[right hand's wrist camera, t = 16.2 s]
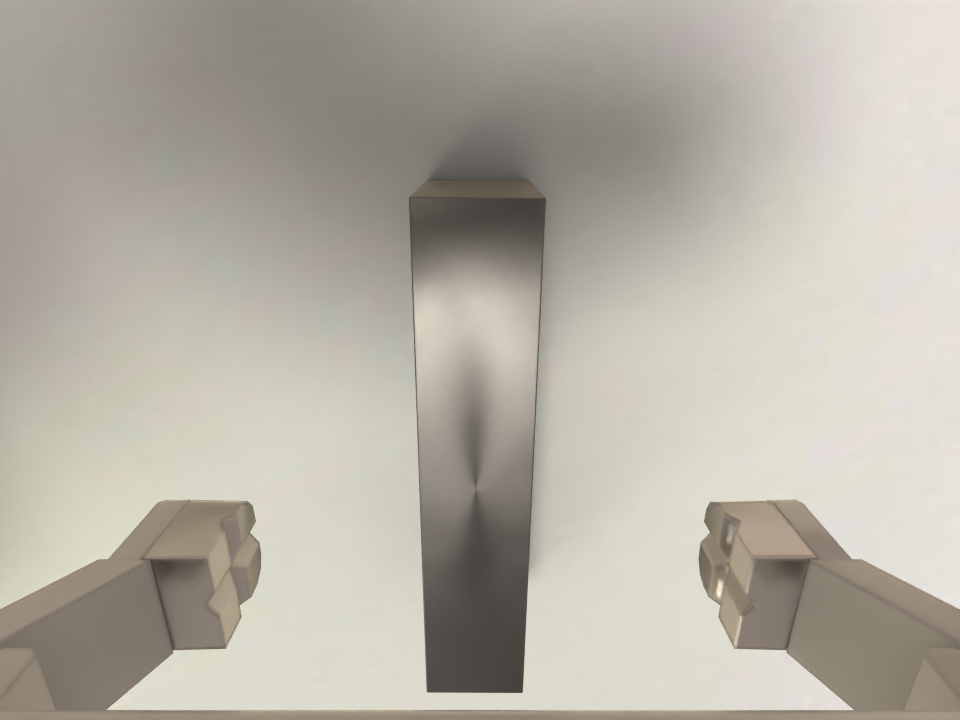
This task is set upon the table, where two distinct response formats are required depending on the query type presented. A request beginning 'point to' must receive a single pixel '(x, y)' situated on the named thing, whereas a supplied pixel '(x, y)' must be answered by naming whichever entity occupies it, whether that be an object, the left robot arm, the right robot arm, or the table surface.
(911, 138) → the table surface
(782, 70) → the table surface
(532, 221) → the bar
